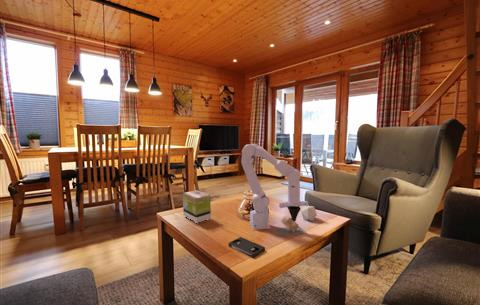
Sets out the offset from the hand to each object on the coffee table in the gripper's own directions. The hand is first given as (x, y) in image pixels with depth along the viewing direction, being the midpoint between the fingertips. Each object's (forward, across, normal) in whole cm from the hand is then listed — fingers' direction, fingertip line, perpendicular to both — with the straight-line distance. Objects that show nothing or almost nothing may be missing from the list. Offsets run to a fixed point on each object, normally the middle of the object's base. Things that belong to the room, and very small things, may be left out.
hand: (293, 220), depth 114 cm
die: (+6, +15, +12) cm, 21 cm away
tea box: (+5, -47, +30) cm, 56 cm away
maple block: (+4, 0, 0) cm, 4 cm away
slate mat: (+6, -2, 0) cm, 6 cm away
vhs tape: (+6, -27, -11) cm, 30 cm away
